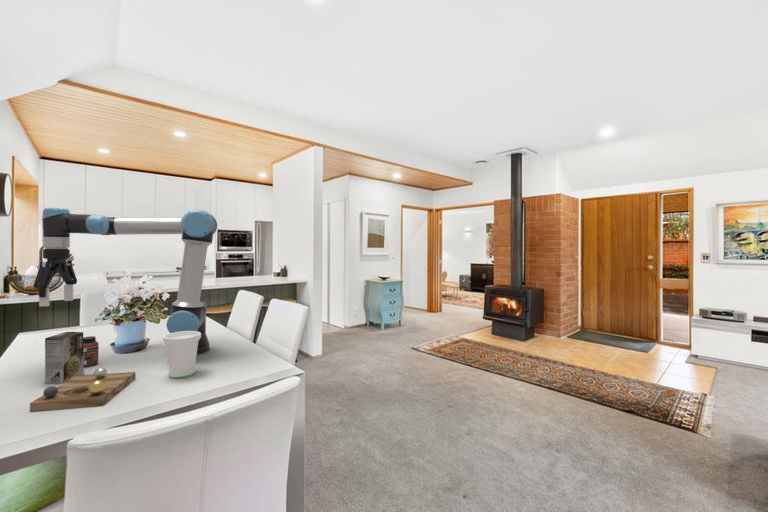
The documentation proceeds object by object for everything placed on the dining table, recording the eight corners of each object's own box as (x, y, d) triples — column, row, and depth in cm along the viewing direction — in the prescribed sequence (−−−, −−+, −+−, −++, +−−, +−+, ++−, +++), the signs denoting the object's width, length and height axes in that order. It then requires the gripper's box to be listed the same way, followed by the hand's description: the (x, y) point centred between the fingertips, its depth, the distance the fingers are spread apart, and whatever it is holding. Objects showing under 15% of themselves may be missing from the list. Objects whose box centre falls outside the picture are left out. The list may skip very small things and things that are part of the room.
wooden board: (76, 382, 120) (76, 375, 120) (135, 378, 124) (135, 371, 124) (29, 411, 99) (29, 403, 98) (103, 405, 103) (103, 397, 103)
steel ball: (108, 375, 120) (108, 366, 120) (103, 379, 117) (103, 369, 117) (97, 376, 119) (97, 366, 119) (91, 380, 116) (91, 370, 116)
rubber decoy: (60, 394, 105) (60, 383, 105) (53, 398, 102) (53, 388, 101) (47, 395, 104) (48, 384, 104) (40, 399, 101) (40, 389, 101)
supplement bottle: (86, 368, 134) (87, 339, 134) (74, 366, 135) (75, 338, 135) (102, 363, 140) (102, 336, 140) (90, 362, 141) (90, 335, 141)
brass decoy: (108, 390, 108) (108, 377, 108) (101, 396, 104) (101, 382, 104) (92, 391, 107) (92, 378, 107) (84, 397, 103) (85, 383, 103)
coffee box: (66, 374, 127) (66, 331, 127) (84, 374, 128) (84, 331, 128) (43, 384, 118) (43, 337, 118) (63, 383, 119) (63, 337, 118)
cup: (160, 383, 121) (161, 340, 121) (164, 371, 132) (165, 332, 132) (200, 377, 127) (200, 336, 126) (200, 367, 138) (201, 329, 138)
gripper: (66, 248, 142) (66, 298, 143) (18, 248, 118) (19, 309, 118) (87, 248, 144) (87, 298, 144) (44, 248, 120) (45, 308, 120)
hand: (57, 303), depth 131 cm, fingers open, 13 cm apart
